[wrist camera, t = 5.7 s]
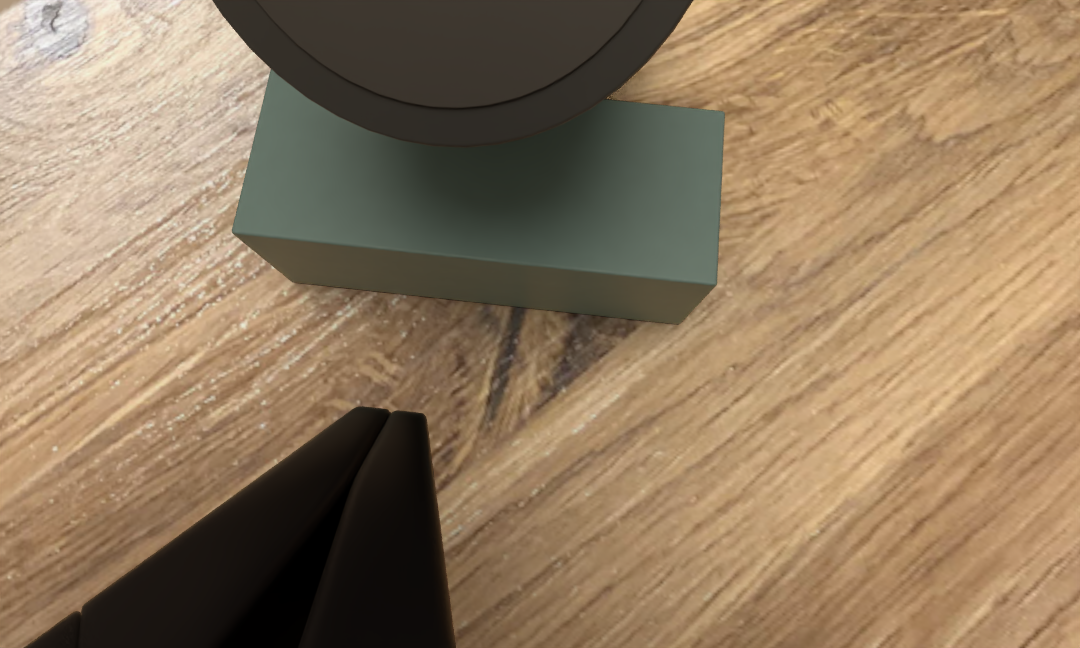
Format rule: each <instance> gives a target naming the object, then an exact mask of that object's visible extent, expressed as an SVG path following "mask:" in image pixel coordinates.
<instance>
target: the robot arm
mask: <svg viewBox="0 0 1080 648" xmlns="http://www.w3.org/2000/svg"><path fill="white" fill-rule="evenodd" d="M24 648H456V643H455V635H454V627H453V620H452V612H451V604H450V596H449V588H448V581H447V573H446V565H445V557H444V550H443V542H442V534H441V526H440V519H439V511H438V503H437V495H436V487H435V480H434V472H433V464H432V456H431V449H430V441H429V433H428V425H427V419H426V416H425V415H424V414H423V413H416V412H407V411H394V412H392V413H391V412H389V411H388V410H387V409H381V408H372V407H363V406H362V407H356V408H354V409H352V410H351V411H350V412H348V413H347V414H345V415H344V416H343V417H341V418H340V419H339V420H337V421H336V422H334V423H333V424H332V425H330V426H329V427H327V428H326V429H325V430H323V431H322V432H321V433H319V434H318V435H316V436H315V437H314V438H312V439H311V440H310V441H308V442H307V443H305V444H304V445H303V446H301V447H300V448H299V449H297V450H296V451H294V452H293V453H292V454H290V455H289V456H288V457H286V458H285V459H283V460H282V461H281V462H279V463H278V464H277V465H275V466H274V467H272V468H271V469H270V470H268V471H267V472H266V473H264V474H263V475H261V476H260V477H259V478H257V479H256V480H255V481H253V482H252V483H250V484H249V485H248V486H246V487H245V488H244V489H242V490H241V491H239V492H238V493H237V494H235V495H234V496H233V497H231V498H230V499H228V500H227V501H226V502H224V503H223V504H222V505H220V506H219V507H217V508H216V509H215V510H213V511H212V512H211V513H209V514H208V515H206V516H205V517H204V518H202V519H201V520H200V521H198V522H197V523H195V524H194V525H193V526H191V527H190V528H189V529H187V530H186V531H184V532H183V533H182V534H180V535H179V536H178V537H176V538H175V539H173V540H172V541H171V542H169V543H168V544H166V545H165V546H164V547H162V548H161V549H160V550H158V551H157V552H155V553H154V554H153V555H151V556H150V557H149V558H147V559H146V560H144V561H143V562H142V563H140V564H139V565H138V566H136V567H135V568H133V569H132V570H131V571H129V572H128V573H127V574H125V575H124V576H122V577H121V578H120V579H118V580H117V581H116V582H114V583H113V584H111V585H110V586H109V587H107V588H106V589H105V590H103V591H102V592H100V593H99V594H98V595H96V596H95V597H94V598H92V599H91V600H89V601H88V602H87V603H85V604H84V605H83V607H82V611H81V613H80V612H78V611H76V612H73V613H71V614H70V615H68V616H67V617H66V618H64V619H63V620H61V621H60V622H59V623H57V624H56V625H55V626H53V627H52V628H50V629H49V630H48V631H46V632H45V633H44V634H42V635H41V636H39V637H38V638H37V639H35V640H34V641H32V642H31V643H30V644H28V645H27V646H25V647H24Z"/></svg>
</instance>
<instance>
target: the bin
mask: <svg viewBox="0 0 1080 648" xmlns="http://www.w3.org/2000/svg"><path fill="white" fill-rule="evenodd" d="M692 1H693V0H213V2H214V3H215V5H216V6H217V8H218V9H219V11H220V12H221V14H222V15H223V17H224V18H225V19H226V20H227V22H228V23H229V24H230V25H231V26H232V27H233V29H234V30H235V31H236V32H237V33H238V35H239V36H240V37H241V38H242V39H243V41H244V42H245V43H246V44H247V45H248V47H249V48H250V49H251V50H252V51H253V52H254V53H255V54H256V55H257V56H258V57H259V58H261V59H262V60H263V61H264V62H265V63H266V64H267V65H268V66H269V67H270V68H271V69H272V70H273V71H274V72H275V73H276V74H277V75H278V76H279V77H281V78H282V79H283V80H285V81H286V82H287V83H288V84H290V85H291V86H292V87H294V88H295V89H296V90H297V91H299V92H300V93H301V94H303V95H304V96H305V97H307V98H308V99H310V100H311V101H313V102H315V103H316V104H318V105H319V106H321V107H323V108H324V109H326V110H328V111H329V112H331V113H333V114H334V115H336V116H338V117H340V118H342V119H344V120H346V121H349V122H351V123H353V124H355V125H357V126H360V127H362V128H364V129H366V130H369V131H371V132H375V133H378V134H381V135H384V136H388V137H391V138H394V139H397V140H401V141H406V142H411V143H417V144H423V145H429V146H437V147H463V148H467V147H478V146H488V145H498V144H503V143H507V142H511V141H515V140H520V139H524V138H528V137H532V136H534V135H537V134H539V133H542V132H545V131H547V130H550V129H552V128H555V127H558V126H560V125H562V124H564V123H566V122H568V121H570V120H572V119H573V118H575V117H577V116H579V115H581V114H583V113H584V112H586V111H588V110H590V109H592V108H593V107H595V106H596V105H597V104H599V103H600V102H601V101H603V100H604V99H605V98H607V97H608V96H610V95H611V94H612V93H614V92H615V91H616V90H618V89H619V88H621V87H622V86H623V85H624V84H625V83H626V82H627V81H628V80H629V79H630V78H631V77H632V76H633V75H634V74H635V73H636V72H638V71H639V70H640V69H641V68H642V67H643V66H644V65H645V64H646V63H647V62H648V61H649V60H650V59H651V57H652V56H653V55H654V54H655V53H656V51H657V50H658V49H659V48H660V47H661V45H662V44H663V43H664V42H665V41H666V39H667V38H668V37H669V36H670V34H671V33H672V32H673V31H674V29H675V28H676V26H677V25H678V23H679V22H680V20H681V18H682V17H683V15H684V14H685V12H686V11H687V9H688V8H689V6H690V5H691V3H692Z"/></svg>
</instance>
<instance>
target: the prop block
mask: <svg viewBox="0 0 1080 648" xmlns="http://www.w3.org/2000/svg"><path fill="white" fill-rule="evenodd" d="M724 121H725V113H724V112H723V111H715V110H705V109H695V108H686V107H676V106H667V105H657V104H647V103H638V102H628V101H618V100H609V99H604V100H603V101H601V102H600V103H599V104H597V105H596V106H595V107H593V108H592V109H590V110H588V111H586V112H584V113H583V114H581V115H579V116H577V117H575V118H573V119H572V120H570V121H568V122H566V123H564V124H562V125H560V126H558V127H555V128H552V129H550V130H547V131H545V132H542V133H539V134H537V135H534V136H532V137H528V138H524V139H520V140H515V141H511V142H507V143H503V144H498V145H488V146H478V147H467V148H463V147H437V146H429V145H423V144H417V143H411V142H406V141H401V140H397V139H394V138H391V137H388V136H384V135H381V134H378V133H375V132H371V131H369V130H366V129H364V128H362V127H360V126H357V125H355V124H353V123H351V122H349V121H346V120H344V119H342V118H340V117H338V116H336V115H334V114H333V113H331V112H329V111H328V110H326V109H324V108H323V107H321V106H319V105H318V104H316V103H315V102H313V101H311V100H310V99H308V98H307V97H305V96H304V95H303V94H301V93H300V92H299V91H297V90H296V89H295V88H294V87H292V86H291V85H290V84H288V83H287V82H286V81H285V80H283V79H282V78H281V77H279V76H278V75H277V74H276V73H275V72H274V71H273V70H272V69H271V71H270V75H269V79H268V83H267V87H266V92H265V96H264V100H263V104H262V108H261V112H260V116H259V121H258V125H257V129H256V133H255V137H254V141H253V145H252V150H251V154H250V158H249V162H248V166H247V170H246V174H245V179H244V183H243V187H242V191H241V195H240V199H239V203H238V207H237V212H236V216H235V220H234V224H233V228H232V233H233V234H234V235H235V236H236V237H238V238H239V239H240V240H241V241H243V242H244V243H245V244H246V245H247V246H249V247H250V248H251V249H252V250H254V251H255V252H256V253H257V254H259V255H260V256H261V257H262V258H263V259H265V260H266V261H267V262H268V263H270V264H271V265H272V266H273V267H274V268H276V269H277V270H278V271H279V272H281V273H282V274H283V275H284V276H286V277H287V278H288V279H289V280H290V281H292V282H296V283H305V284H314V285H323V286H332V287H341V288H351V289H360V290H369V291H378V292H387V293H396V294H405V295H414V296H424V297H433V298H442V299H451V300H460V301H469V302H478V303H487V304H497V305H506V306H515V307H524V308H533V309H542V310H551V311H560V312H570V313H579V314H588V315H597V316H606V317H615V318H624V319H633V320H643V321H652V322H661V323H670V324H680V323H681V322H682V321H683V320H684V319H685V318H686V317H687V316H688V315H689V314H690V313H691V312H692V310H693V309H694V308H695V307H696V306H697V305H698V304H699V303H700V302H701V301H702V300H703V299H704V298H705V297H706V296H707V295H708V294H709V293H710V291H711V290H712V289H713V288H714V287H715V286H716V285H717V271H718V249H719V228H720V206H721V185H722V163H723V142H724Z"/></svg>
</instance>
